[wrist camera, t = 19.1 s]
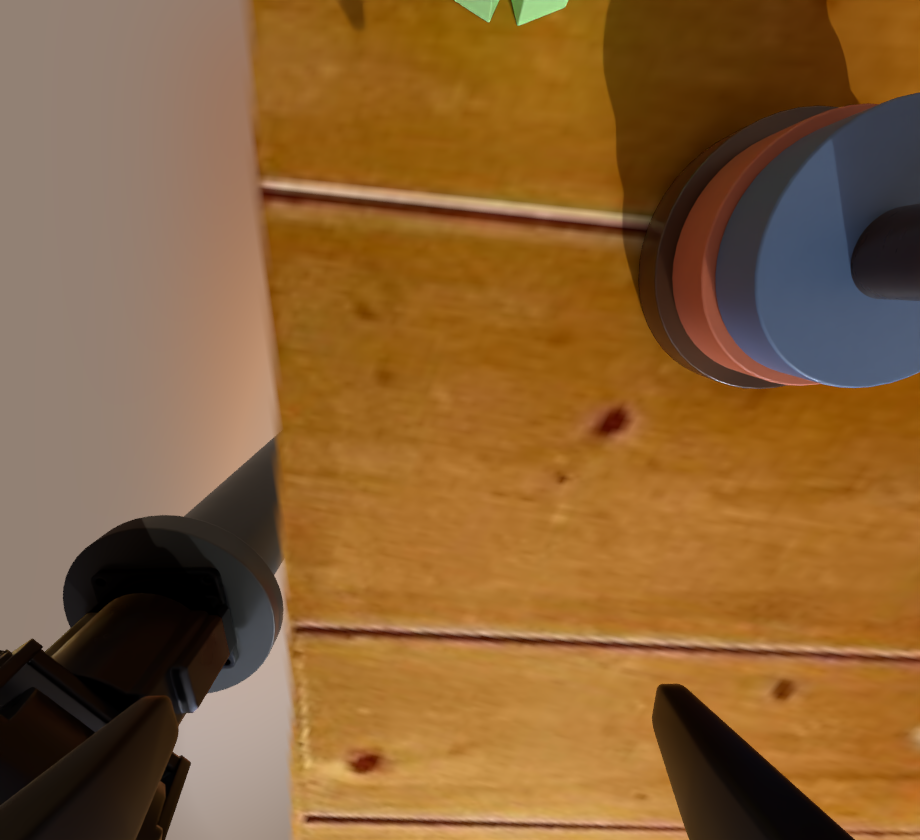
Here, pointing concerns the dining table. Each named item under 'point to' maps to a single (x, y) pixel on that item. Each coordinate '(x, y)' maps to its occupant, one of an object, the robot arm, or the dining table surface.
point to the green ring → (515, 8)
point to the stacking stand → (794, 251)
